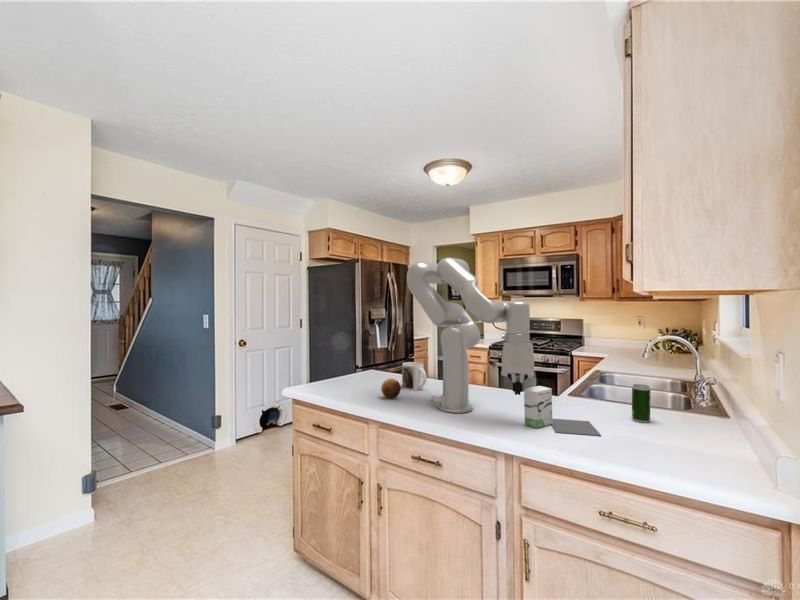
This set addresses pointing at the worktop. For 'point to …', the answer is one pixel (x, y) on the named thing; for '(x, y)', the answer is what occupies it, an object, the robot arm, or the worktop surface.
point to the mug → (413, 376)
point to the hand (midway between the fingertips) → (517, 393)
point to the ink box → (538, 406)
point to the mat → (574, 427)
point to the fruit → (391, 388)
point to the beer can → (641, 403)
